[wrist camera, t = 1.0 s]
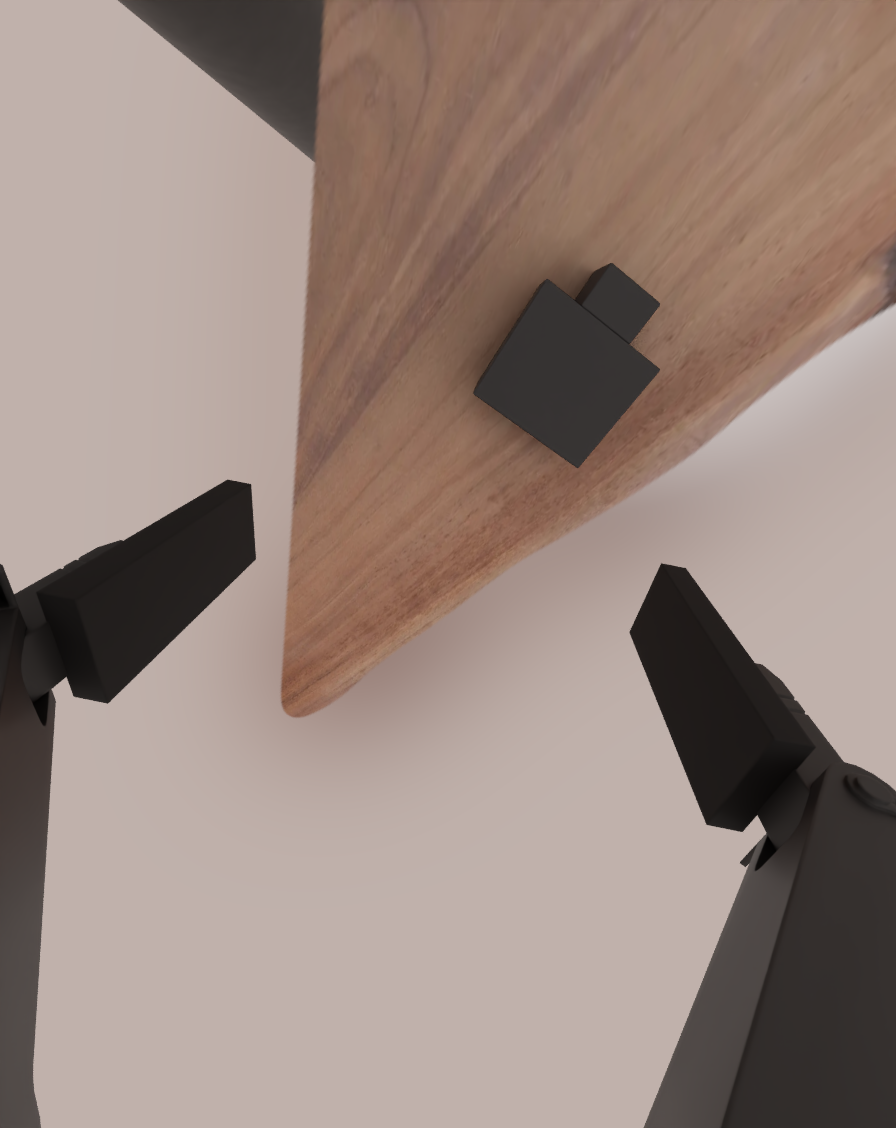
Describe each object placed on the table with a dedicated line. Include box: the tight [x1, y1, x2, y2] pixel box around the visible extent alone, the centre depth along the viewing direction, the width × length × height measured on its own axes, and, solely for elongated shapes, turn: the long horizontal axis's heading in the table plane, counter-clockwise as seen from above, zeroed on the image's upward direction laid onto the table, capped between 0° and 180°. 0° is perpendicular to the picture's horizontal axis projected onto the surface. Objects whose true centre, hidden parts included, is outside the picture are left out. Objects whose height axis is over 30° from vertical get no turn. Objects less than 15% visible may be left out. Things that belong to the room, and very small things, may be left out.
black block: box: [473, 263, 660, 468], centre depth 24 cm, size 7×8×4 cm
